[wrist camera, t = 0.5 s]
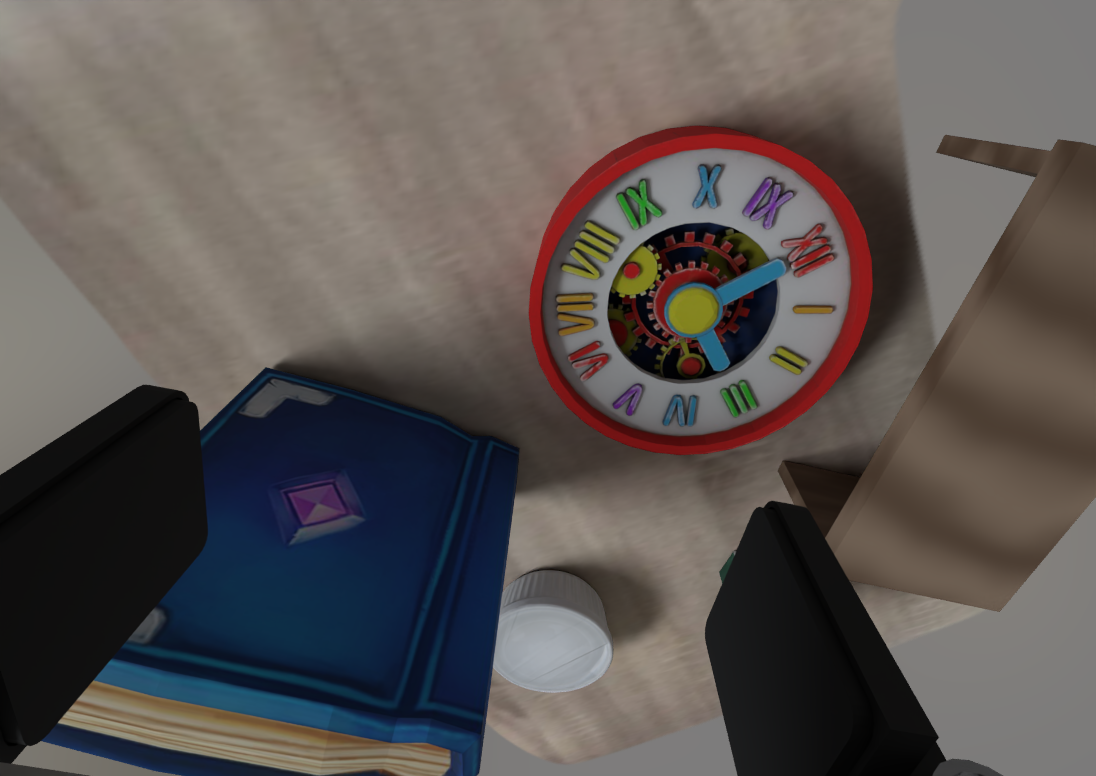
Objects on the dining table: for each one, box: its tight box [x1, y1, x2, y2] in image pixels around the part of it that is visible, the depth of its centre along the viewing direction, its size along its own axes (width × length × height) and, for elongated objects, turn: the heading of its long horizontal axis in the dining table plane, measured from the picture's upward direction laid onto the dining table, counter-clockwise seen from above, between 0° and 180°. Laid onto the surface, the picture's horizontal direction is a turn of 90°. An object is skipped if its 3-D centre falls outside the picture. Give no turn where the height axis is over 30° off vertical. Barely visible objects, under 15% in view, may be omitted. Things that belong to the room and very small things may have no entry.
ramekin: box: [493, 570, 613, 692], centre depth 53 cm, size 11×11×5 cm
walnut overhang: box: [778, 135, 1096, 612], centre depth 36 cm, size 26×12×10 cm, turn 168°
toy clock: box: [529, 126, 873, 455], centre depth 38 cm, size 20×6×20 cm
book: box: [41, 367, 519, 776], centre depth 36 cm, size 22×7×25 cm, turn 73°
